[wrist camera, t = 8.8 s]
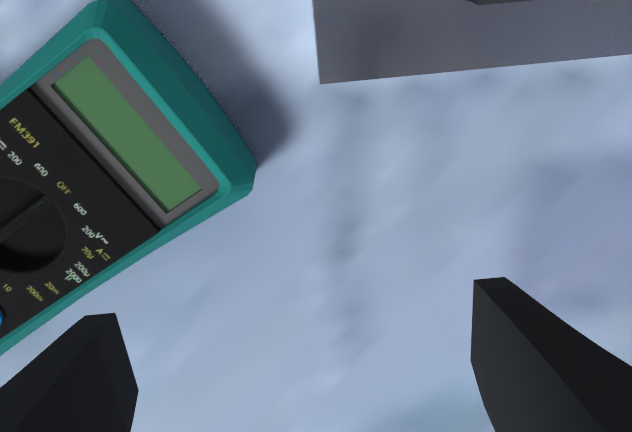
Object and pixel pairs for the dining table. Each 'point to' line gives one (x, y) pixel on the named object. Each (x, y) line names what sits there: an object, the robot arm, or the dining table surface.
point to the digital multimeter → (103, 161)
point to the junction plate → (462, 35)
